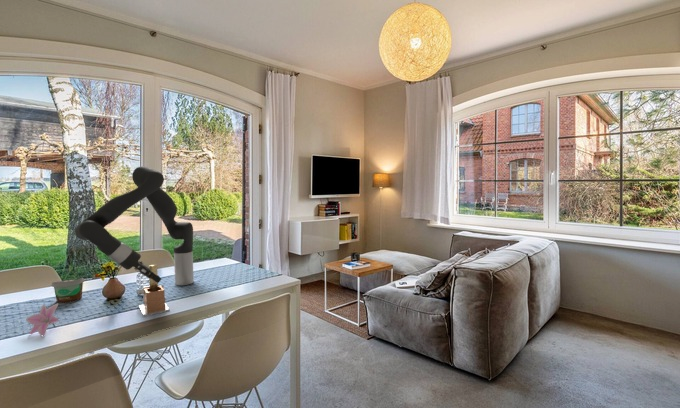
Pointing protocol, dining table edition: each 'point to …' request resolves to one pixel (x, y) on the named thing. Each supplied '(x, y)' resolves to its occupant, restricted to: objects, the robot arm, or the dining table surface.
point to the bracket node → (153, 301)
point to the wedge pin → (152, 283)
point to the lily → (43, 319)
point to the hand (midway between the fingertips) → (158, 279)
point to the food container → (68, 290)
